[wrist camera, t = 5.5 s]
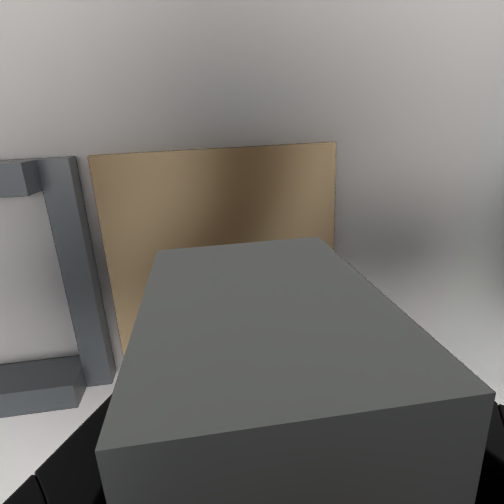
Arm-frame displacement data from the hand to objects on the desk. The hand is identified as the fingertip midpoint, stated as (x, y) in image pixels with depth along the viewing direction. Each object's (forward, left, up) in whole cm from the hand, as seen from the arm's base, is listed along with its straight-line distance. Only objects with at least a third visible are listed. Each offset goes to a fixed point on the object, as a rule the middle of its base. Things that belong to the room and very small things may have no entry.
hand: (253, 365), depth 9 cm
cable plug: (0, 0, -2) cm, 2 cm away
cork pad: (0, 0, -7) cm, 7 cm away
